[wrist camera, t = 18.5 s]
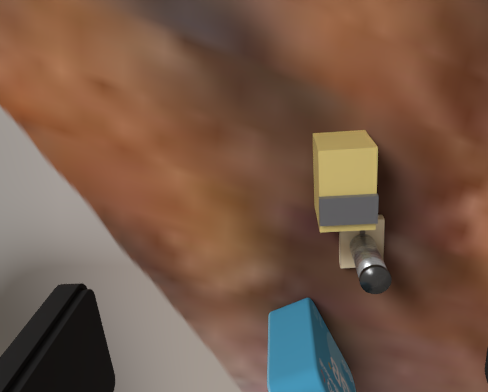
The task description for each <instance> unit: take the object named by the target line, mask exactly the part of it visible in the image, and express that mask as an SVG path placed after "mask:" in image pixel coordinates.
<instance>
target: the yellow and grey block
mask: <svg viewBox="0 0 488 392" xmlns="http://www.w3.org/2000/svg"><path fill="white" fill-rule="evenodd" d="M377 164H378V147H377V145H376V144H375V143H374V141H373V140H372V139H371V138H370V136H369V135H368V134H367V132H366V131H365V130H357V131H342V132H327V133H313V166H314V203H315V211H316V215H317V220H318V225H319V230H320V232H339V231H360V230H376V224H378V201H379V196H378V194H377Z"/></svg>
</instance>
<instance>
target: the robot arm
mask: <svg viewBox="0 0 488 392" xmlns="http://www.w3.org/2000/svg"><path fill="white" fill-rule="evenodd" d="M485 375H486V379H487V382H488V349H487V356H486V363H485ZM114 387H115V374H114V370H113V366H112V362H111V358H110V354H109V350H108V347H107V342H106V338H105V334H104V330H103V326H102V322H101V318H100V314H99V310H98V306H97V302H96V298H95V294H94V292H93V291H92V290H91V289H87V287H86V286H85V285H84V284H61V285H58V286H57V287H56V288H55V289H54V290H53V292H52V293H51V294H50V295H49V297H48V298H47V299H46V300H45V302H44V303H43V304H42V306H41V307H40V308H39V309H38V311H37V312H36V313H35V314H34V315H33V317H32V318H31V319H30V321H29V322H28V323H27V324H26V326H25V327H24V328H23V329H22V331H21V332H20V333H19V334H18V336H17V337H16V338H15V340H14V341H13V342H12V343H11V345H10V346H9V347H8V348H7V349H6V351H5V352H4V353H3V354H2V356H1V357H0V392H113V391H114Z"/></svg>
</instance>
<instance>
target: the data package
mask: <svg viewBox="0 0 488 392" xmlns="http://www.w3.org/2000/svg"><path fill="white" fill-rule="evenodd" d="M267 387H268V392H356V388H355V383H354V380H353V377H352V374H351V371H350V369H349V367H348V365H347V363H346V361H345V359H344V358H343V356H342V354H341V352H340V350H339V348H338V347H337V345H336V343H335V341H334V339H333V337H332V336H331V334H330V332H329V330H328V328H327V326H326V324H325V323H324V321H323V319H322V317H321V315H320V313H319V312H318V310H317V308H316V306H315V304H314V303H313V301H312V300H311V299H310V298H305V299H302V300H300V301H297V302H295V303H292V304H290V305H287V306H284V307H282V308H279V309H277V310H274V311H271V312H270V313H269V317H268V368H267Z"/></svg>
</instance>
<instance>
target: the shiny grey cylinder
mask: <svg viewBox="0 0 488 392" xmlns="http://www.w3.org/2000/svg"><path fill="white" fill-rule="evenodd" d="M349 248H350V251H351V254H352V257H353V261H354V264H355V267H356V270H357V273H358V276H359V281H360V284H361V287H362V288H363V290H365V291H366V292H368V293H371V294H379V293H382V292H384V291H386V290H387V289H388V288H389V286H390V285H391V275H390V273H389V271H388V270H387V268H386V266H385V263H384V261H383V259H382V257H381V254H380V252H379V250H378V247H377V245H376V243H375V241H374V239H373V238H372V237H371V236H369V235H366V234H360V235H357V236H355V237H354V238H353V239H352V240H351V242H350V245H349Z"/></svg>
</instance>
